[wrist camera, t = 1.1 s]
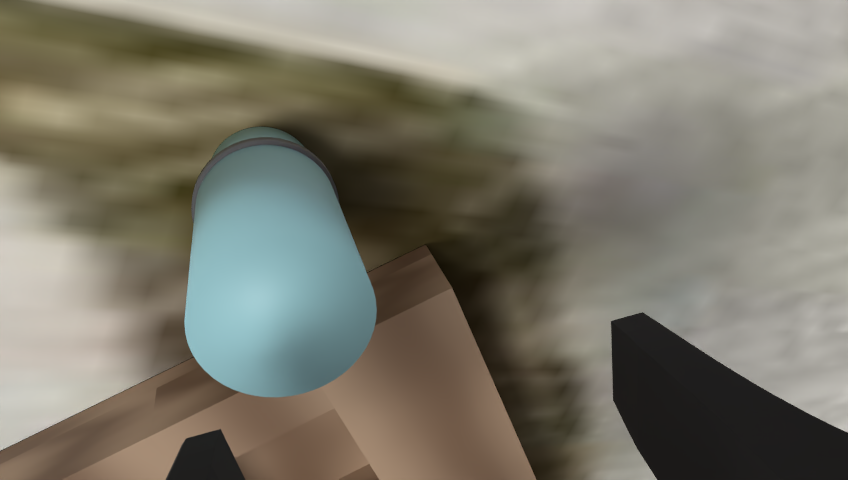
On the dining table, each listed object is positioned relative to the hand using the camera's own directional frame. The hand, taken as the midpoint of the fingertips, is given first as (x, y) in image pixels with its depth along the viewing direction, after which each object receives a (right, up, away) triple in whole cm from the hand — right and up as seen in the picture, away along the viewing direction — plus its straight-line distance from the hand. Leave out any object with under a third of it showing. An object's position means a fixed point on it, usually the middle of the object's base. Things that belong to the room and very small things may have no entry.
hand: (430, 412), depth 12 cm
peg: (-5, +5, +10) cm, 12 cm away
